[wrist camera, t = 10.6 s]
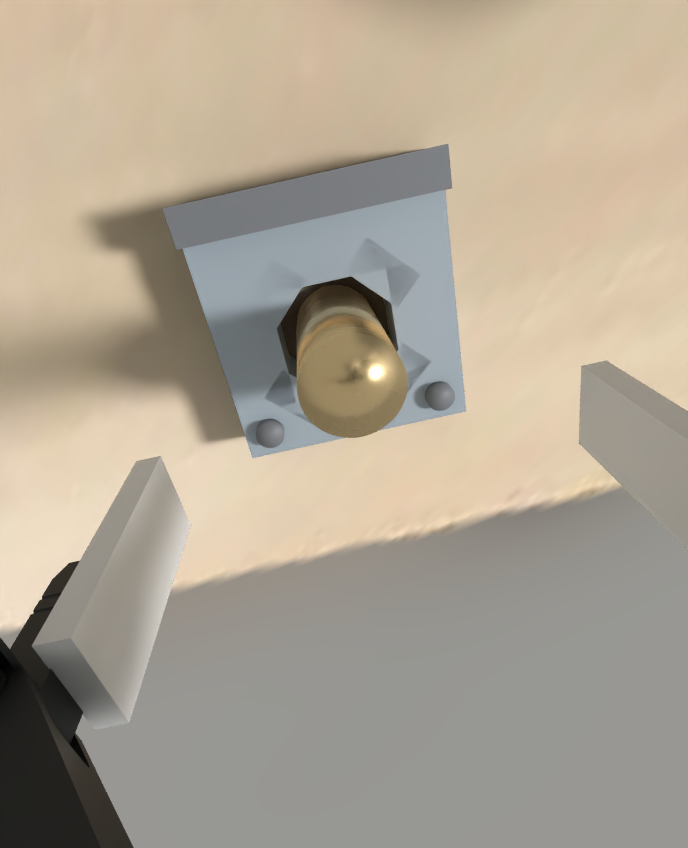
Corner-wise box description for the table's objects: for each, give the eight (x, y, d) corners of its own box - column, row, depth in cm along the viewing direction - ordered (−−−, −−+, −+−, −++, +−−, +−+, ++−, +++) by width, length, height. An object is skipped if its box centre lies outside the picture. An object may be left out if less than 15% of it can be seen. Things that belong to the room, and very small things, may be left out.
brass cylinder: (288, 294, 28) (284, 349, 19) (366, 276, 28) (398, 322, 19) (307, 368, 30) (311, 447, 21) (379, 351, 30) (415, 424, 21)
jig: (181, 203, 26) (162, 208, 22) (425, 148, 25) (448, 143, 22) (256, 434, 32) (250, 468, 28) (451, 391, 32) (472, 420, 28)
